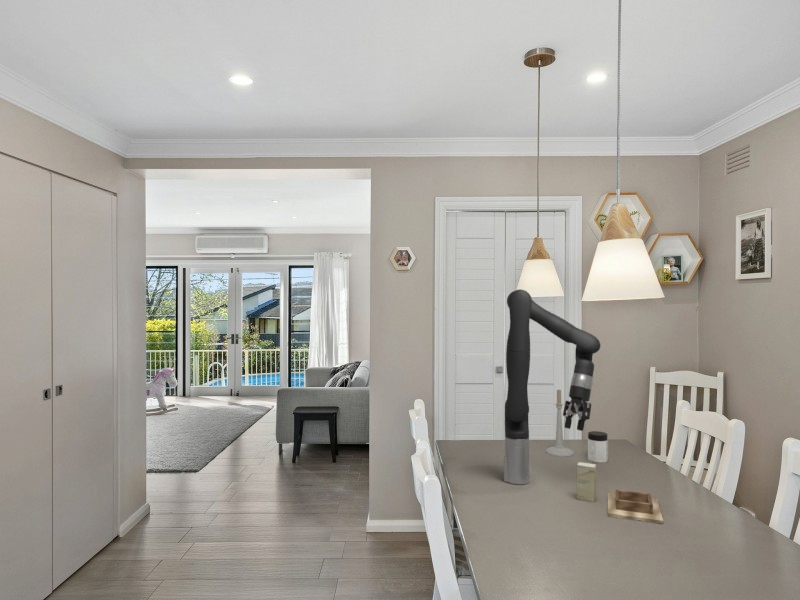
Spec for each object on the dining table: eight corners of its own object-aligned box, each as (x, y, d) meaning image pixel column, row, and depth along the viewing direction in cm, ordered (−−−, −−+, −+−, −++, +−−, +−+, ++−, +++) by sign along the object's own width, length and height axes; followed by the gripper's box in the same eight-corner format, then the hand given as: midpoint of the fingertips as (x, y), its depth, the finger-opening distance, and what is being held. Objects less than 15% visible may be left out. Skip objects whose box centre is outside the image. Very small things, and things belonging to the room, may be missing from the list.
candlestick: (577, 456, 233) (576, 391, 234) (549, 456, 233) (549, 391, 234) (568, 449, 246) (568, 387, 246) (542, 449, 246) (541, 387, 247)
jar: (583, 458, 229) (583, 432, 230) (596, 456, 233) (595, 430, 234) (599, 464, 222) (599, 436, 222) (612, 461, 225) (612, 434, 226)
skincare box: (576, 499, 180) (576, 464, 180) (578, 495, 184) (577, 461, 184) (595, 502, 177) (594, 467, 177) (596, 498, 181) (596, 463, 181)
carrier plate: (608, 516, 165) (607, 503, 165) (607, 495, 183) (607, 484, 183) (663, 524, 159) (662, 511, 159) (657, 501, 177) (657, 490, 177)
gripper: (562, 384, 200) (554, 425, 197) (582, 384, 186) (575, 428, 183) (578, 389, 201) (571, 430, 198) (600, 389, 188) (593, 433, 184)
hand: (573, 429), depth 190 cm, fingers open, 8 cm apart
